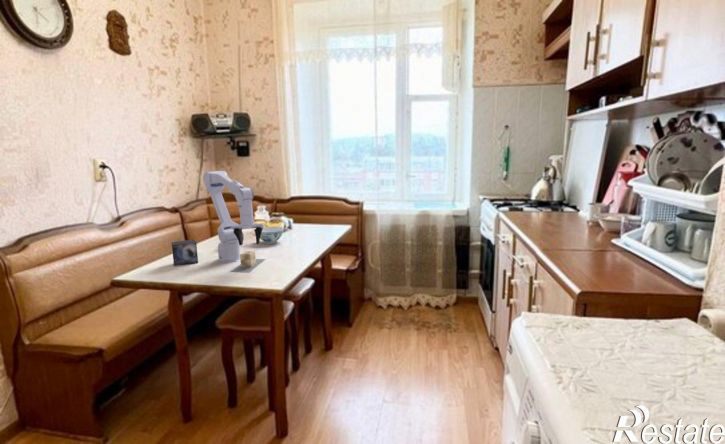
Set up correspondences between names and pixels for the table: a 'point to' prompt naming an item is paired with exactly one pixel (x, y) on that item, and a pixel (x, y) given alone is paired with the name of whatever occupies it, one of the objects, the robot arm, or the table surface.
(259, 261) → the grey plate
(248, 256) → the maple block
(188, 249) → the small box
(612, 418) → the table surface
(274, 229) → the chinaware
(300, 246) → the table surface
